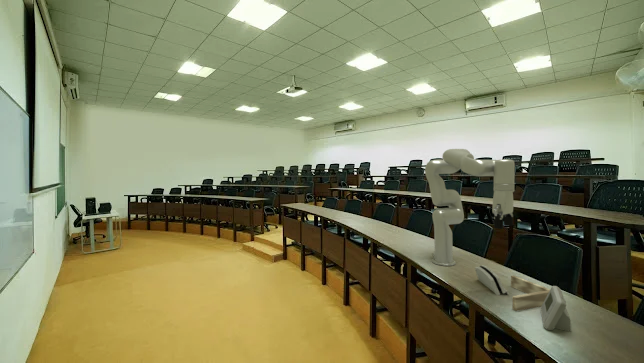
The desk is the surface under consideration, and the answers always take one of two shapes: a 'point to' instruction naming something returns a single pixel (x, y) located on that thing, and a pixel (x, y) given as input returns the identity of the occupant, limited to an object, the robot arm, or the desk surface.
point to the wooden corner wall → (533, 296)
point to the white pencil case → (490, 279)
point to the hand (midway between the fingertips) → (503, 227)
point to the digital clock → (555, 311)
